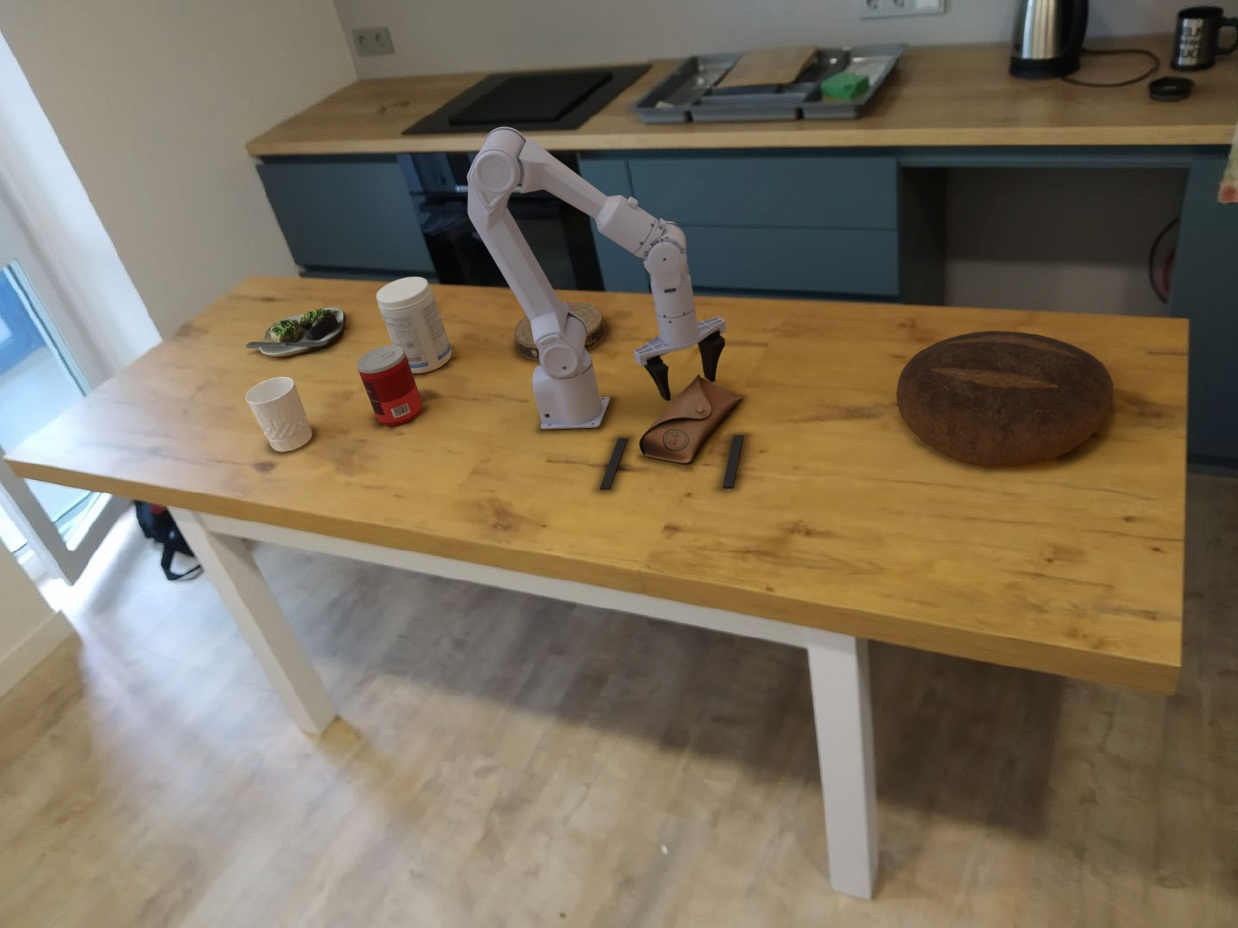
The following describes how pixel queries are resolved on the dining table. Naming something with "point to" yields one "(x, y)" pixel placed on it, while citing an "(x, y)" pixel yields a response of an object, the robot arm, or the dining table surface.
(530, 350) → the tan round flat disc
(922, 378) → the bread
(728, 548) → the dining table surface
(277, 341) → the salad plate
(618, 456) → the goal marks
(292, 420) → the white cup
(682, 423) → the sunglasses case
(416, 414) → the canned food
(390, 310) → the supplement tub
